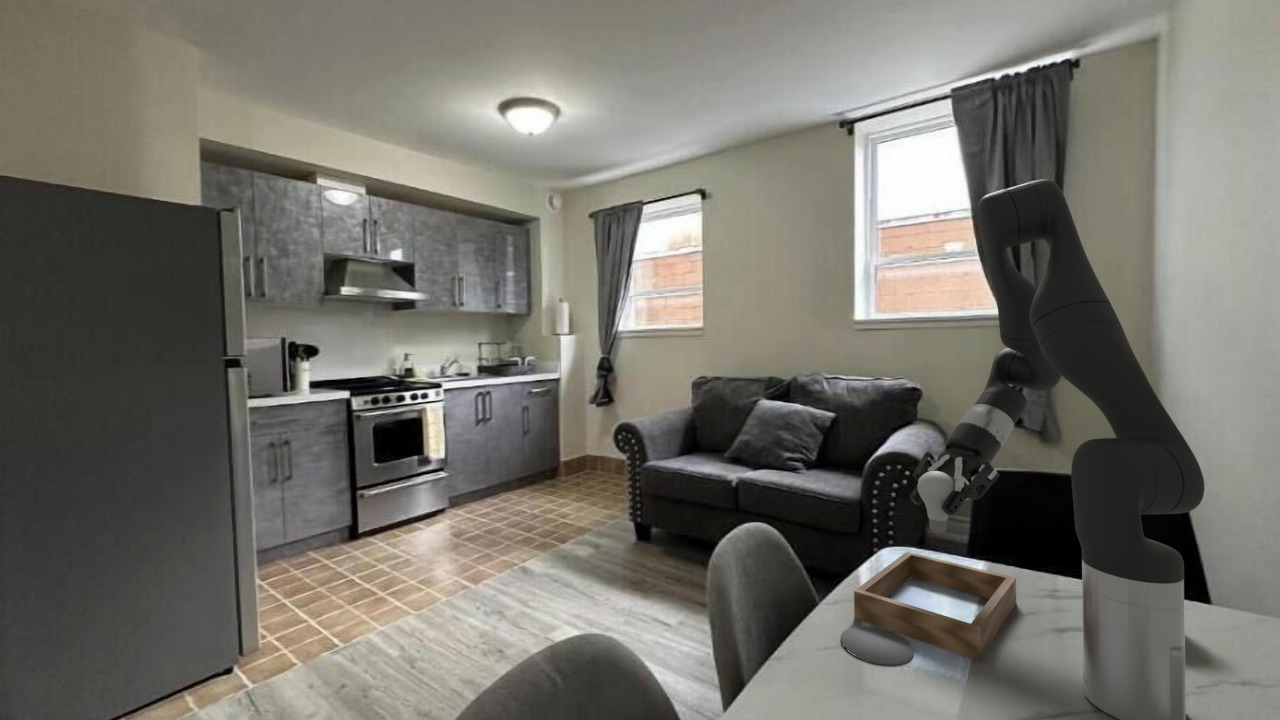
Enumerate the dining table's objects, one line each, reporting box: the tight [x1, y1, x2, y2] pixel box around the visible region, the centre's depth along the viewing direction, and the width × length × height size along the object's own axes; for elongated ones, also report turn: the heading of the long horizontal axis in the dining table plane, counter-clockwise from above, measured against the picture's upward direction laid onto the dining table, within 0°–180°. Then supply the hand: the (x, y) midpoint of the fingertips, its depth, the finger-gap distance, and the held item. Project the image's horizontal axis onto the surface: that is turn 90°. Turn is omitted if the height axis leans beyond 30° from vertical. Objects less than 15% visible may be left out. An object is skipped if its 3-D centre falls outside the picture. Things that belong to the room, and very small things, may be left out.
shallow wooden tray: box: [853, 551, 1017, 662], centre depth 90 cm, size 18×24×4 cm
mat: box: [840, 625, 914, 666], centre depth 80 cm, size 10×10×1 cm
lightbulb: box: [917, 470, 956, 535], centre depth 93 cm, size 6×6×11 cm
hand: (929, 506), depth 93 cm, fingers closed on lightbulb, 6 cm apart
